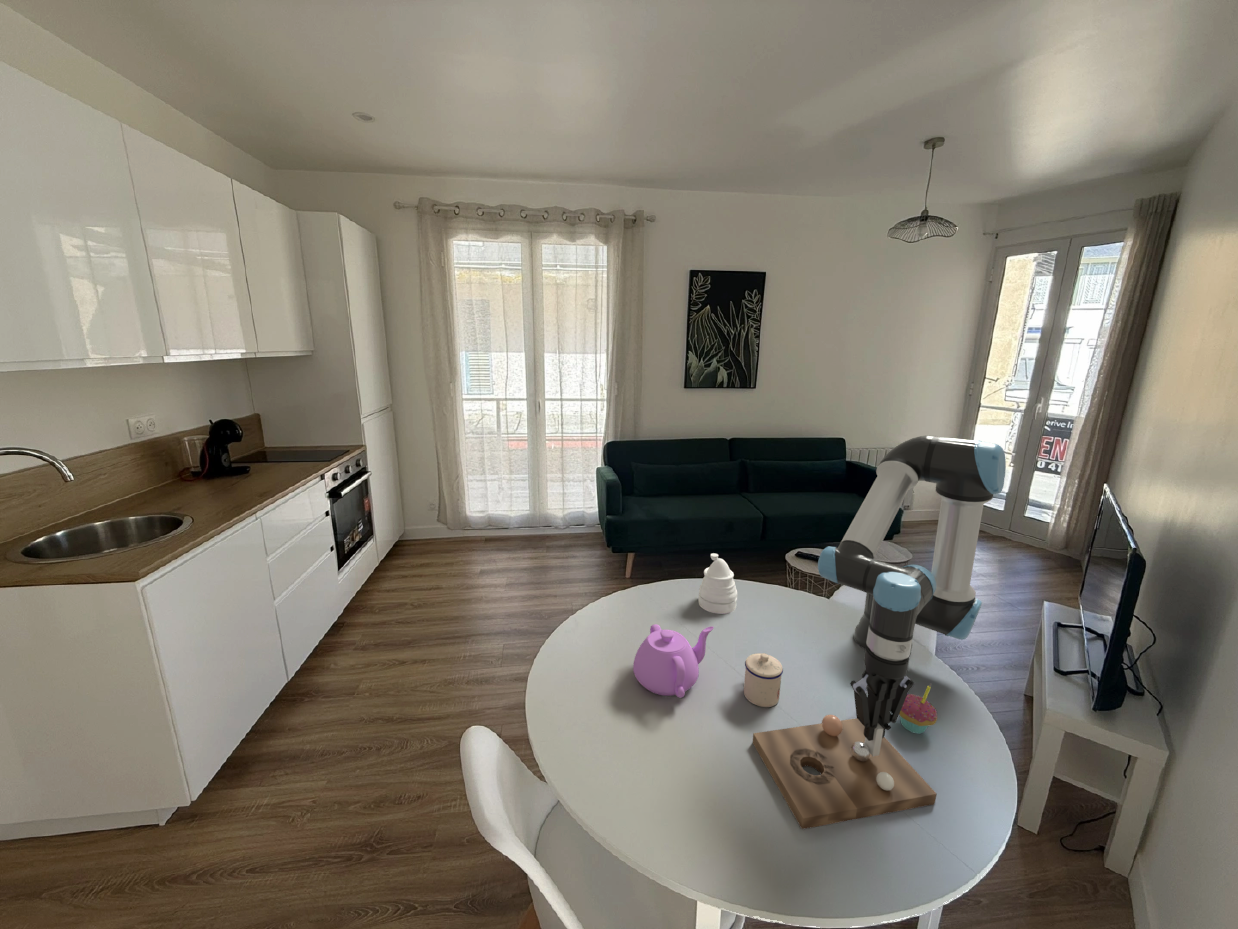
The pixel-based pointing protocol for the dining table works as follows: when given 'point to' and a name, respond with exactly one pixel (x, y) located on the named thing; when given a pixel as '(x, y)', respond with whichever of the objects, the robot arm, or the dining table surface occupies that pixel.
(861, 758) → the steel ball
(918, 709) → the cupcake
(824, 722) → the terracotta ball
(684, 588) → the dining table surface
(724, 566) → the honey pot
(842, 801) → the wooden board
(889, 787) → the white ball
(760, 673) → the teacup with lid
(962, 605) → the robot arm
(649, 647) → the teapot
